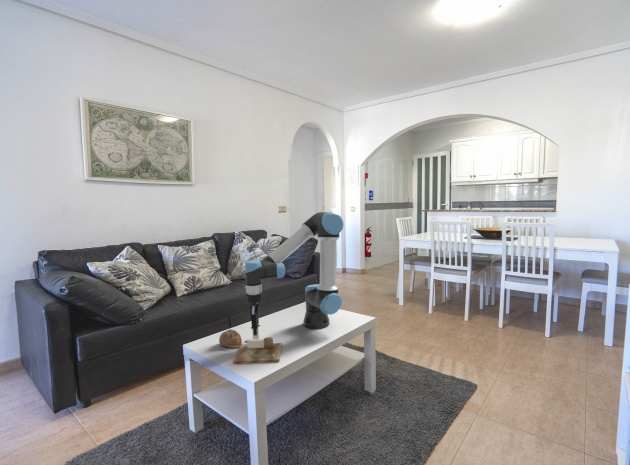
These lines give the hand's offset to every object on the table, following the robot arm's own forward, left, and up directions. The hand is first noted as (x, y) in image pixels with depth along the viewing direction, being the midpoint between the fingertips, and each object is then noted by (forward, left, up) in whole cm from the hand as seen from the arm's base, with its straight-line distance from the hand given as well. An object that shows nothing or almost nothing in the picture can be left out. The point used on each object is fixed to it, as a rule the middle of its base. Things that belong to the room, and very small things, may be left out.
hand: (255, 340), depth 161 cm
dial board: (-3, +8, -3) cm, 9 cm away
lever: (-2, +4, -2) cm, 5 cm away
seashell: (+13, -4, -4) cm, 14 cm away
